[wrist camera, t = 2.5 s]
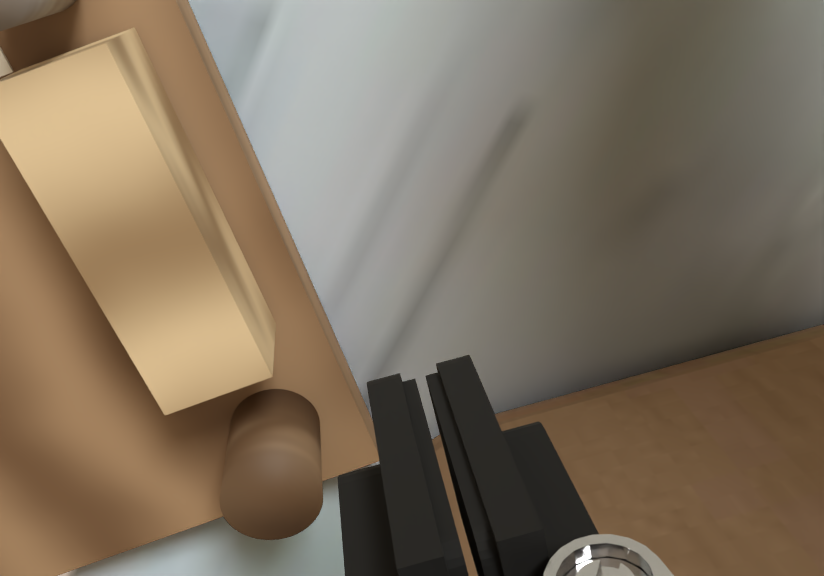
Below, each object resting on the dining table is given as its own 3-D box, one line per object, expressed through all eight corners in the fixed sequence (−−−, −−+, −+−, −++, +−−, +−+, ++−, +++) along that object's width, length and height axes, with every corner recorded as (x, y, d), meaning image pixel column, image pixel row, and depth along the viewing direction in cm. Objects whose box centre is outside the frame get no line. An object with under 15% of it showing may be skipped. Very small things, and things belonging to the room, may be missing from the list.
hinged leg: (20, 69, 21) (-28, 92, 18) (134, 27, 21) (106, 42, 18) (181, 357, 26) (165, 415, 22) (275, 323, 25) (272, 376, 22)
